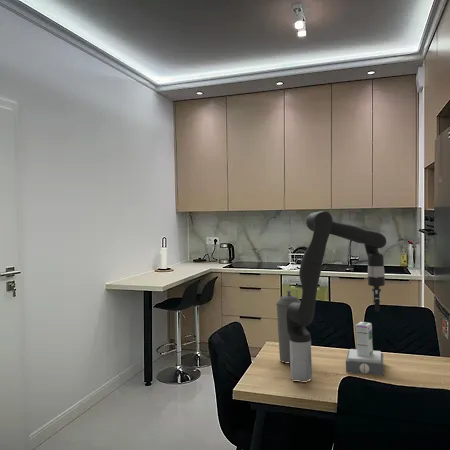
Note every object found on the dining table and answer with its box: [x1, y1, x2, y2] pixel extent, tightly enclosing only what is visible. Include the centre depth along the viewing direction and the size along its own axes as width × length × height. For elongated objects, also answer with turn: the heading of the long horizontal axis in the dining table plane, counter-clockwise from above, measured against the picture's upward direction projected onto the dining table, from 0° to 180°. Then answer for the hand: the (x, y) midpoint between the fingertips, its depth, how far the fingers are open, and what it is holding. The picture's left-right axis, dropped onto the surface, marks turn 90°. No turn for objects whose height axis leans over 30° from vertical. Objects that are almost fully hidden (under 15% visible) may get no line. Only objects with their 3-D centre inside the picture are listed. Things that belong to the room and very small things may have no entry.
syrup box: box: [355, 321, 374, 357], centre depth 196 cm, size 6×6×14 cm
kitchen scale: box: [345, 348, 385, 377], centre depth 195 cm, size 17×16×6 cm
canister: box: [276, 290, 301, 363], centre depth 209 cm, size 13×13×35 cm
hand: (377, 309), depth 200 cm, fingers open, 8 cm apart
